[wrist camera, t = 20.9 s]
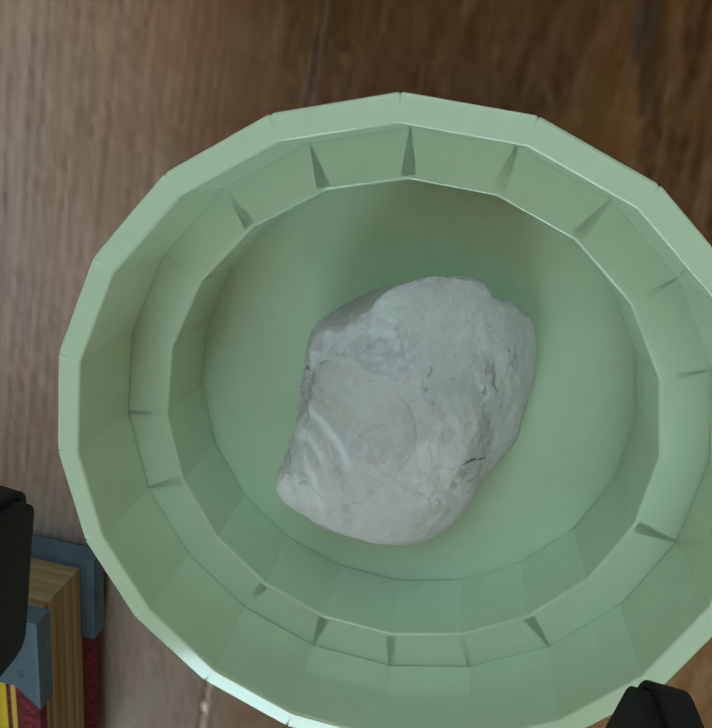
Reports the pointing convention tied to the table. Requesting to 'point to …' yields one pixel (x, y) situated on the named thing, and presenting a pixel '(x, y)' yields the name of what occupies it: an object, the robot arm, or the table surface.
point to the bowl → (500, 487)
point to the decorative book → (57, 642)
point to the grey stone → (407, 408)
